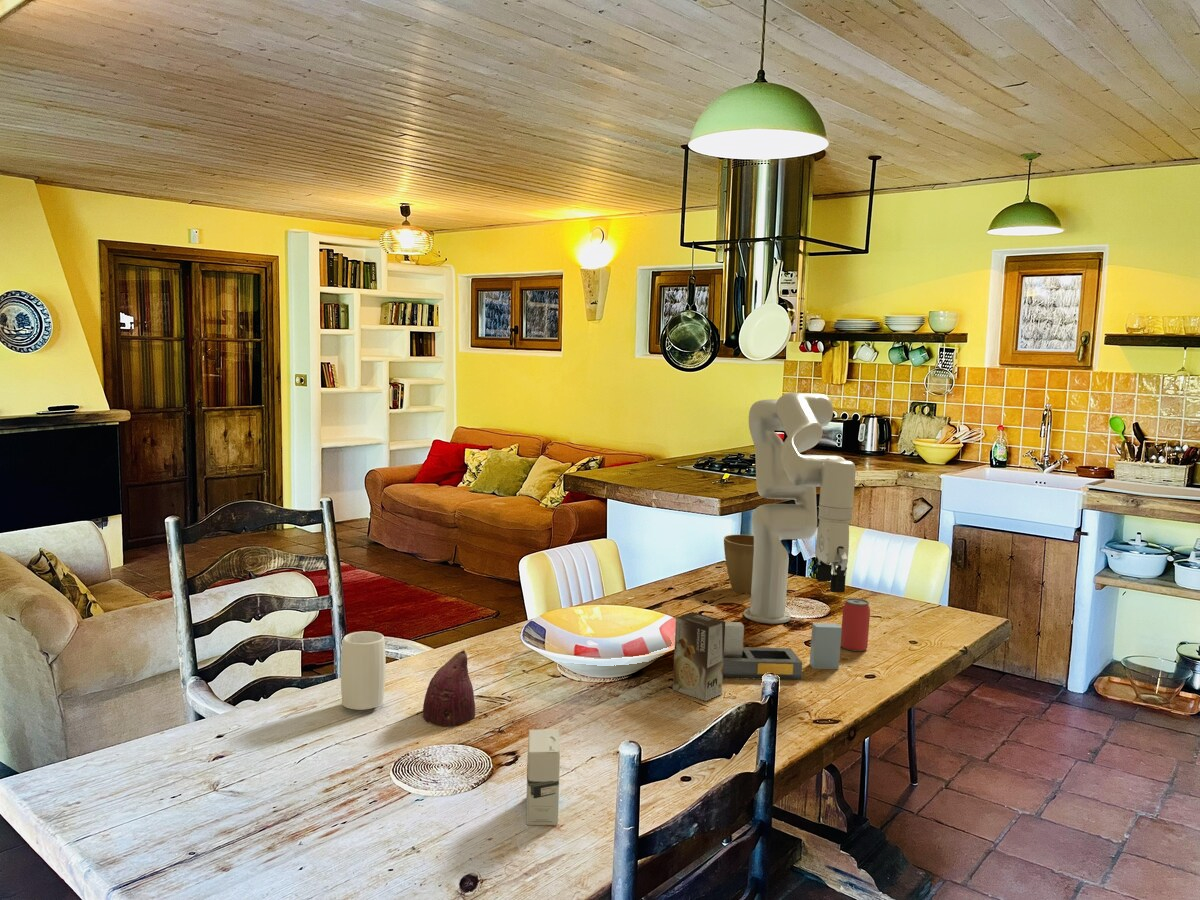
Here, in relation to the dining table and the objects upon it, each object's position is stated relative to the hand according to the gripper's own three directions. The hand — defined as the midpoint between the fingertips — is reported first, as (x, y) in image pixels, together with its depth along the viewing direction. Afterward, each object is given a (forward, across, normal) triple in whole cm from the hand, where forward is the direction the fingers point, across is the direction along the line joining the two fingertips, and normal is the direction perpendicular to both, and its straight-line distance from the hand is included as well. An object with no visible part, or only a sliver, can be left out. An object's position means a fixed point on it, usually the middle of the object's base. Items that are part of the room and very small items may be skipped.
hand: (830, 586), depth 209 cm
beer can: (+19, -14, +12) cm, 27 cm away
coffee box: (+20, +17, -33) cm, 42 cm away
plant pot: (+19, -65, -4) cm, 68 cm away
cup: (+20, +28, -101) cm, 107 cm away
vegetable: (+20, +31, -84) cm, 92 cm away
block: (+19, 0, 0) cm, 19 cm away
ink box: (+20, +67, -66) cm, 96 cm away
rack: (+19, +4, -19) cm, 27 cm away
